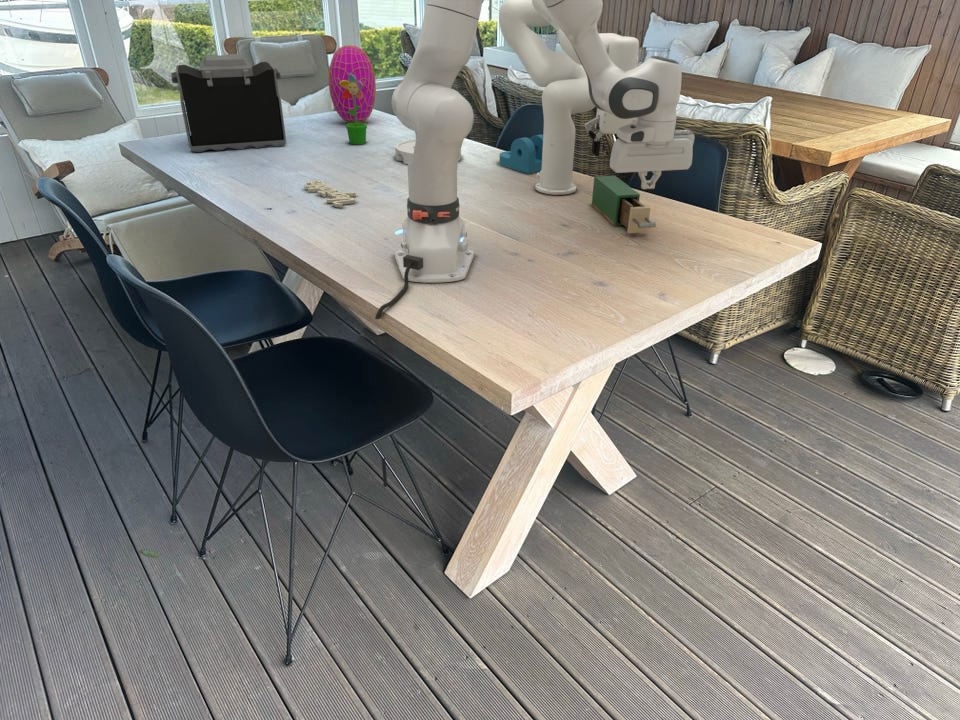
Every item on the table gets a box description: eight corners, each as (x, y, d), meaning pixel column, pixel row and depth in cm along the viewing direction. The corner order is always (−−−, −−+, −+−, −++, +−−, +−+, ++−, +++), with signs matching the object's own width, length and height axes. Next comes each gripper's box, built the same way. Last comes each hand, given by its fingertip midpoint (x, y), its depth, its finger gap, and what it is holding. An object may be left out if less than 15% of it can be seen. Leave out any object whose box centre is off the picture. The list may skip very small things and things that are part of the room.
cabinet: (636, 224, 186) (640, 194, 181) (614, 225, 184) (618, 195, 180) (611, 203, 201) (614, 175, 197) (591, 204, 200) (594, 176, 196)
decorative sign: (368, 198, 199) (337, 205, 193) (368, 202, 199) (337, 208, 194) (326, 178, 217) (297, 183, 211) (326, 181, 217) (297, 186, 212)
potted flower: (342, 144, 260) (336, 73, 247) (351, 139, 266) (346, 70, 254) (365, 146, 257) (360, 74, 245) (374, 141, 264) (369, 71, 251)
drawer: (655, 239, 174) (659, 214, 170) (636, 240, 173) (640, 215, 170) (622, 211, 192) (624, 188, 189) (605, 212, 192) (607, 188, 188)
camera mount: (550, 168, 233) (552, 137, 227) (527, 173, 227) (529, 141, 222) (515, 157, 245) (516, 127, 239) (493, 162, 239) (493, 131, 234)
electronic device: (283, 133, 274) (272, 51, 259) (291, 146, 256) (280, 59, 241) (185, 140, 262) (168, 54, 247) (186, 153, 245) (167, 62, 229)
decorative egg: (362, 116, 305) (357, 42, 290) (386, 123, 292) (382, 46, 277) (324, 121, 294) (316, 45, 279) (347, 129, 281) (340, 49, 266)
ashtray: (454, 167, 232) (454, 155, 230) (388, 164, 235) (387, 152, 233) (466, 151, 252) (466, 140, 250) (404, 148, 255) (404, 137, 253)
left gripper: (689, 126, 167) (680, 182, 174) (610, 129, 164) (604, 186, 171) (702, 132, 162) (692, 189, 169) (620, 135, 158) (614, 194, 165)
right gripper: (644, 85, 185) (636, 150, 194) (583, 87, 182) (578, 152, 191) (656, 90, 179) (647, 156, 188) (593, 91, 176) (587, 159, 184)
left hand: (647, 188), depth 170 cm, fingers closed
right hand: (612, 154), depth 189 cm, fingers open, 9 cm apart
